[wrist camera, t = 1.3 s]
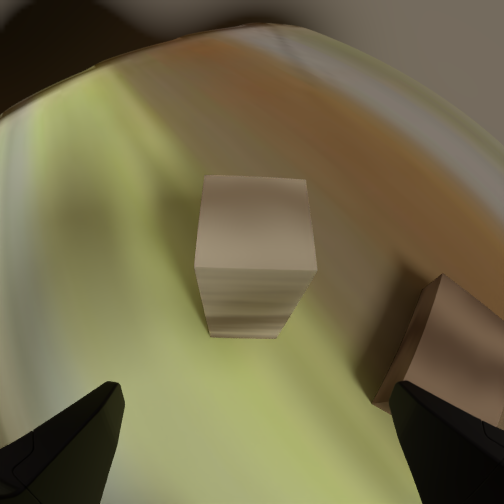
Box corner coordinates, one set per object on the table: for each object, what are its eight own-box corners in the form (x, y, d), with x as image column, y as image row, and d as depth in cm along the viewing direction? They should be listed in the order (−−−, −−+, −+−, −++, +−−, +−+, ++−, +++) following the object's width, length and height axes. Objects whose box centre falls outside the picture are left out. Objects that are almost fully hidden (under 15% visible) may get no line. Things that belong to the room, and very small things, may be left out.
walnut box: (459, 451, 18) (487, 451, 15) (369, 403, 21) (393, 400, 17) (495, 346, 23) (519, 335, 20) (420, 291, 26) (442, 273, 23)
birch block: (275, 338, 23) (317, 270, 12) (210, 337, 22) (194, 266, 12) (274, 279, 25) (305, 180, 15) (213, 277, 25) (204, 175, 15)
